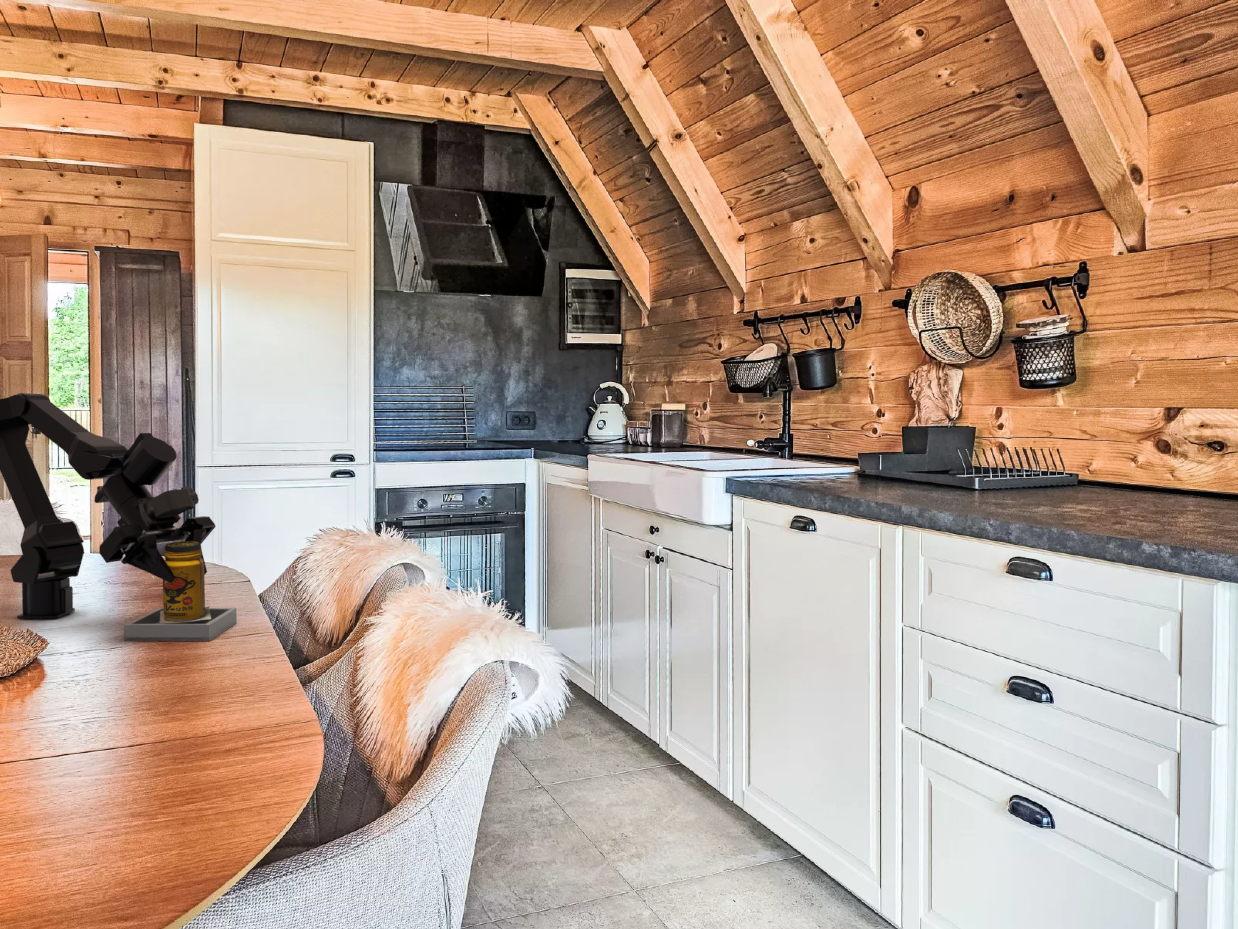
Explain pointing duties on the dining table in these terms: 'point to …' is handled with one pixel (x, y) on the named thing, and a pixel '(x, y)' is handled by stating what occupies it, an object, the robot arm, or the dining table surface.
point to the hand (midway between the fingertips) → (189, 577)
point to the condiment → (184, 584)
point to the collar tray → (179, 627)
